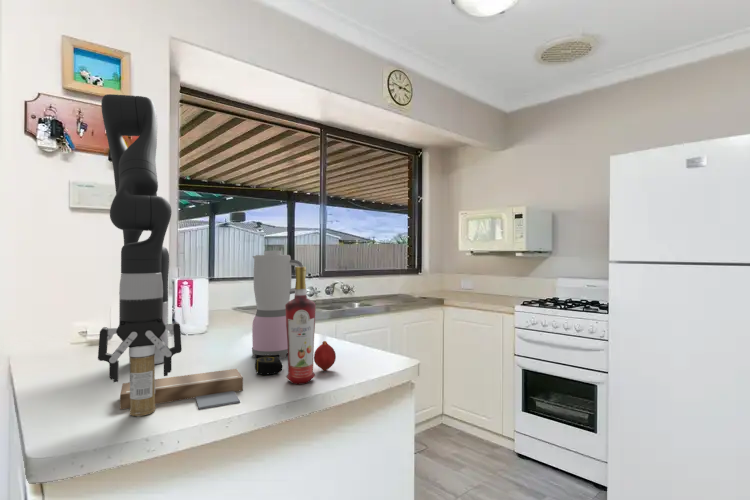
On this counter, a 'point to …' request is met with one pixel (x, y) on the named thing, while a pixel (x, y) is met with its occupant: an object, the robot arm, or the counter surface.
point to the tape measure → (268, 365)
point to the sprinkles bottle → (142, 380)
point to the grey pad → (217, 399)
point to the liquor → (300, 332)
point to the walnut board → (189, 386)
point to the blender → (271, 302)
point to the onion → (324, 356)
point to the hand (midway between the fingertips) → (141, 378)
